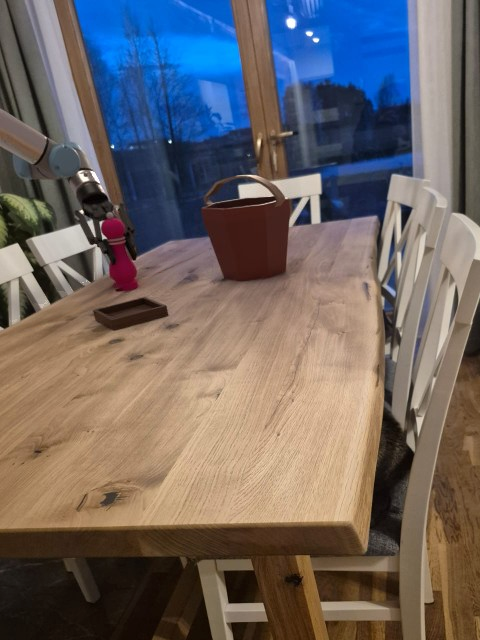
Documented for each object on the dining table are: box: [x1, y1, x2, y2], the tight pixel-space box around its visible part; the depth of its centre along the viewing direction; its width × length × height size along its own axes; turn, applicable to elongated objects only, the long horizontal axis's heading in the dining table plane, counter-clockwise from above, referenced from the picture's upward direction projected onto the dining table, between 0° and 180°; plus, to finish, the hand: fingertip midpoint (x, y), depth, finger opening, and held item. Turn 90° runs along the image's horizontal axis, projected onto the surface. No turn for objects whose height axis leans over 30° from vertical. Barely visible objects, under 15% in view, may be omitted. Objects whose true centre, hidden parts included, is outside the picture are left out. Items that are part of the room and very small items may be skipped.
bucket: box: [200, 174, 291, 282], centre depth 153 cm, size 24×22×25 cm
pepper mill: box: [100, 212, 139, 292], centre depth 153 cm, size 7×7×20 cm
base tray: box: [92, 296, 169, 331], centre depth 130 cm, size 13×13×2 cm
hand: (124, 259), depth 151 cm, fingers closed on pepper mill, 5 cm apart
